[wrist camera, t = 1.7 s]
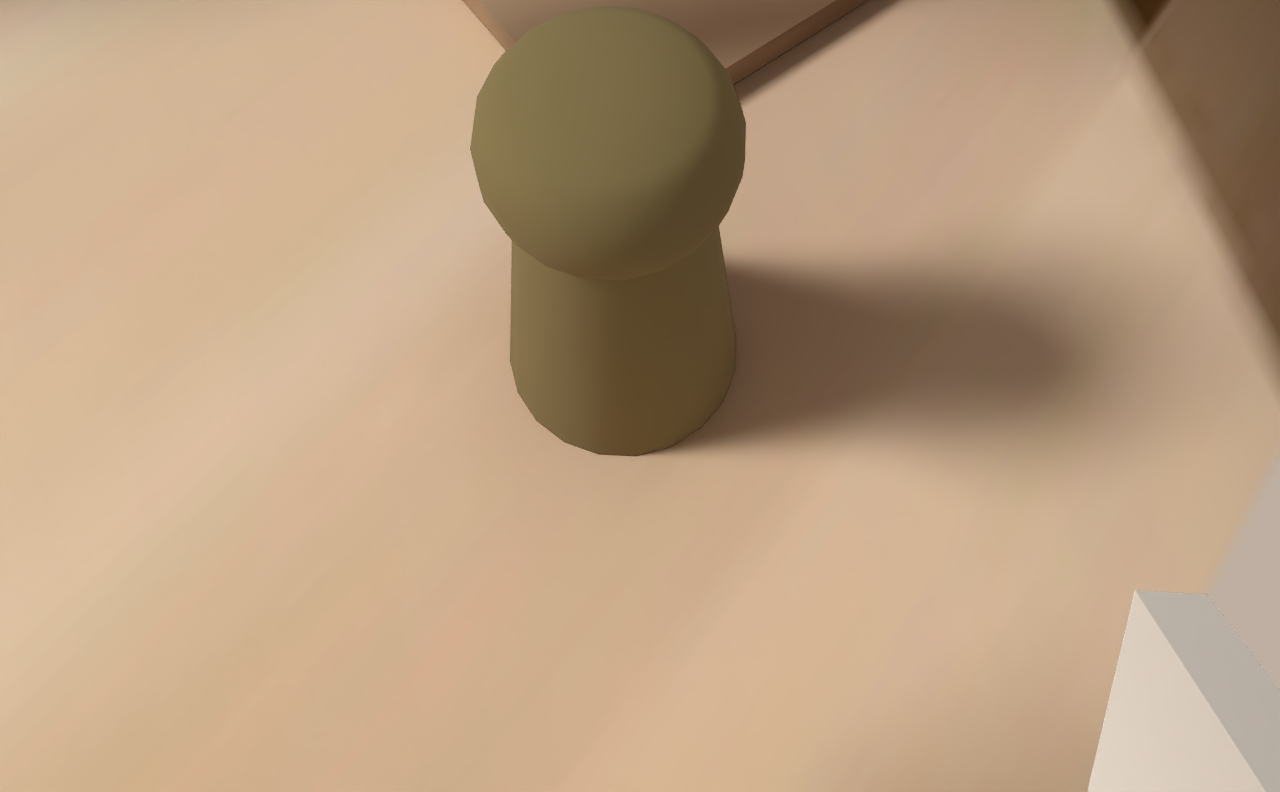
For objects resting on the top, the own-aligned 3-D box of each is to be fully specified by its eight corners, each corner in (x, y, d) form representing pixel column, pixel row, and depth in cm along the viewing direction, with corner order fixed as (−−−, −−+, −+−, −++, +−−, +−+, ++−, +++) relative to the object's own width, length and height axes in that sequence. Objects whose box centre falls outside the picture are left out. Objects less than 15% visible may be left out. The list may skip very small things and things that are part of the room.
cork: (721, 239, 31) (750, -62, 21) (752, 443, 29) (802, 215, 19) (503, 261, 31) (427, -32, 21) (517, 468, 29) (439, 251, 18)
